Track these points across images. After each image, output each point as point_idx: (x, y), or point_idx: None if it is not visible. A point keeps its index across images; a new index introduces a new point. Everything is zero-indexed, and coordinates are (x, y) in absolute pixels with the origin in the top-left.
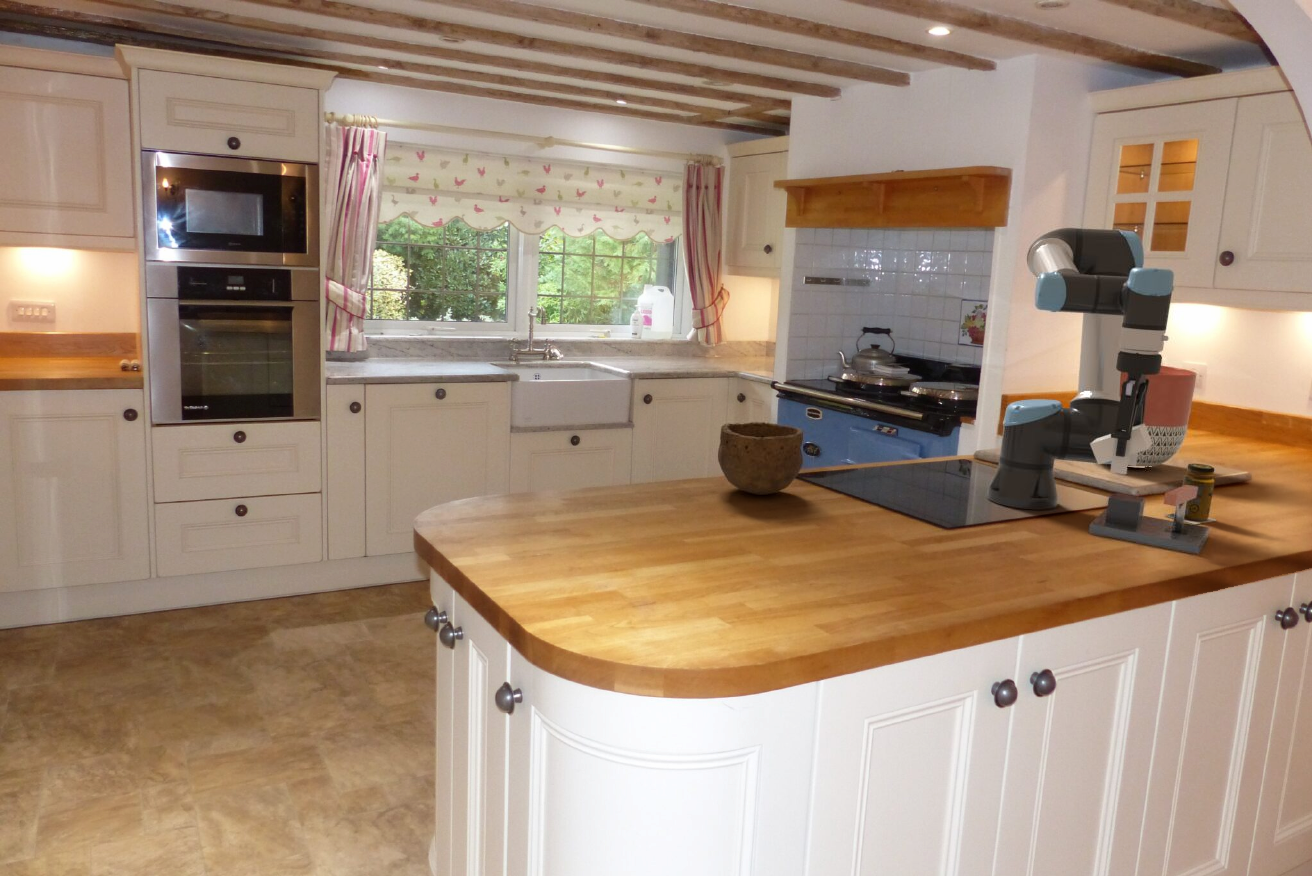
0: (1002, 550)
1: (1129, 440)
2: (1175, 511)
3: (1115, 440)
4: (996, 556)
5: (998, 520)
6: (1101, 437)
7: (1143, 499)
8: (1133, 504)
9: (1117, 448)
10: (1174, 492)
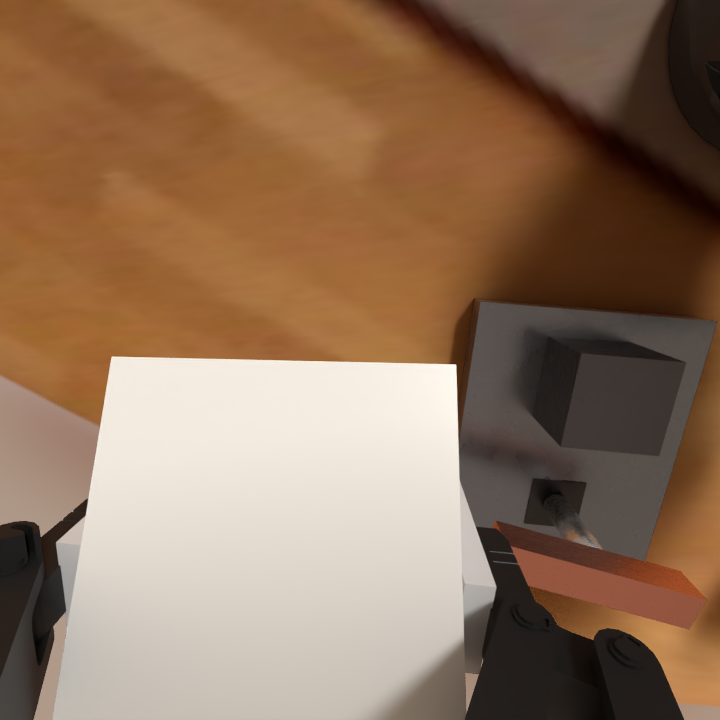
0: (132, 117)
1: (67, 621)
2: (573, 527)
3: (70, 534)
4: (65, 116)
5: (457, 20)
6: (406, 405)
7: (627, 452)
8: (560, 425)
9: (64, 523)
10: (535, 569)
